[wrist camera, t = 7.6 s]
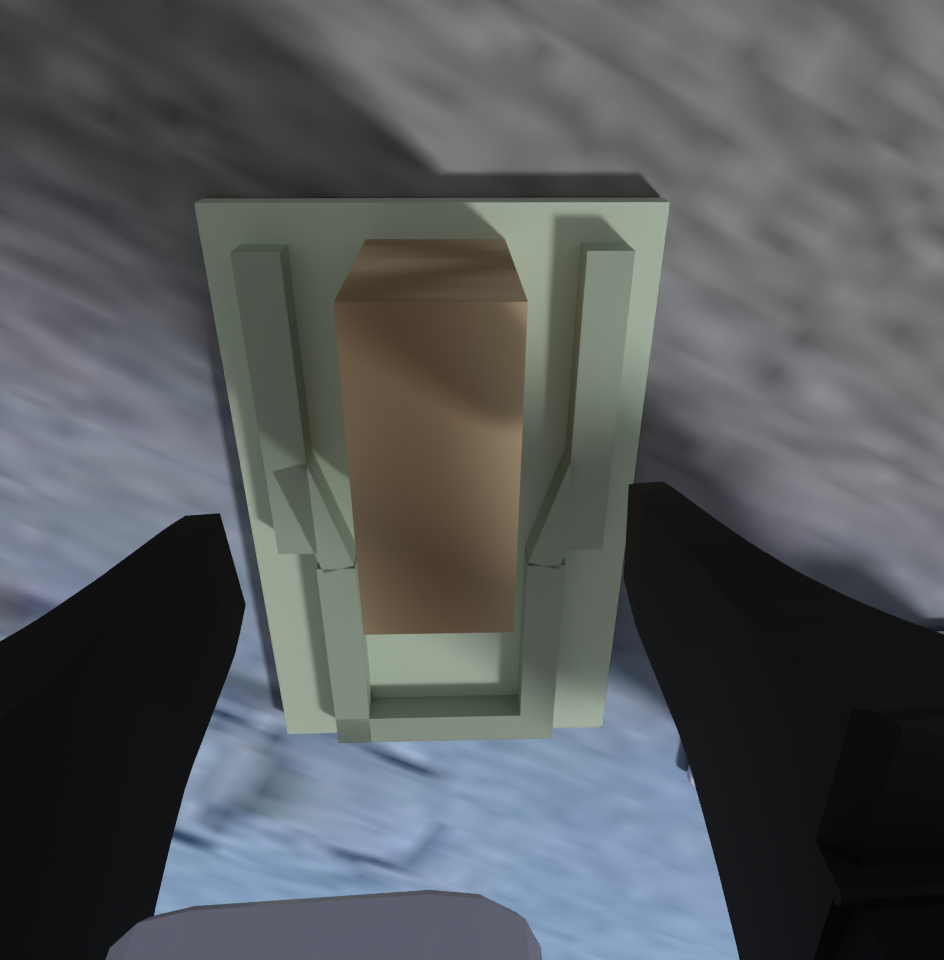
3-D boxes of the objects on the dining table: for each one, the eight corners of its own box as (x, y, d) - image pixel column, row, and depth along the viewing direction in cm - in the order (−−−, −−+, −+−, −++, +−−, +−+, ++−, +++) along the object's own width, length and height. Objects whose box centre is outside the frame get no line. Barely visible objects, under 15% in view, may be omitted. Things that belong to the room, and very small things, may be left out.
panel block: (505, 239, 18) (527, 301, 13) (498, 503, 22) (513, 632, 17) (366, 239, 18) (333, 302, 13) (383, 504, 22) (363, 635, 17)
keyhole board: (661, 197, 19) (681, 208, 17) (597, 710, 28) (607, 748, 27) (203, 198, 19) (181, 209, 17) (291, 717, 28) (282, 755, 26)
